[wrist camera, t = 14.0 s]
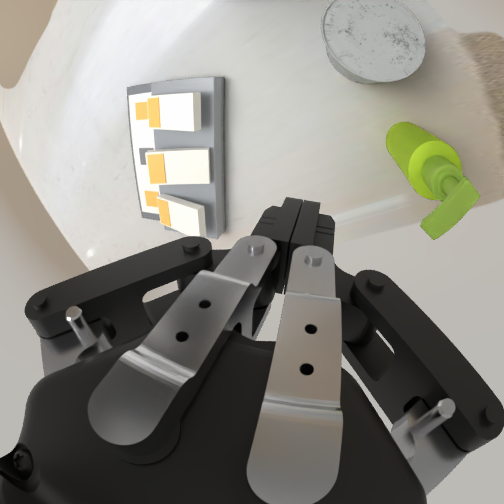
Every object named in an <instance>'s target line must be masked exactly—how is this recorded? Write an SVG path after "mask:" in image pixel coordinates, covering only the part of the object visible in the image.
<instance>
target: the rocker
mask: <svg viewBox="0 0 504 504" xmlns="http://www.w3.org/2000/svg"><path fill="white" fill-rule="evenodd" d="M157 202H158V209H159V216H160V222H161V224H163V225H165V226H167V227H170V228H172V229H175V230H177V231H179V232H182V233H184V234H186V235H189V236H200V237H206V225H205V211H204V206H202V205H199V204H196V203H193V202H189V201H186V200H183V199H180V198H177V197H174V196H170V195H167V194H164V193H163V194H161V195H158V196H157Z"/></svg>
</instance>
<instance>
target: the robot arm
mask: <svg viewBox="0 0 504 504" xmlns="http://www.w3.org/2000/svg"><path fill="white" fill-rule="evenodd" d="M319 209H320V203H319V202H313V201H307V200H304V202H303V200H301V199H295V198H289V197H286V199H285V201H284V203H283V205H282V207H277V206H272V207H270V208H268V209H266V210H265V211H264V213H263V215H262V217H261V218H260V220H259V222H258V223H257V225H256V227H255V228H254V230H253V232H252V234H251V235H250V236H246V237H243V238H241V239H240V240H238V241H237V242H236V244H235V245H234V246H233V247H232V249H227V250H212V245H211V242H210V241H209V240H208V239H206V238H204V237H200V236H188V237H184V238H181V239H178V240H175V241H172V242H169V243H166V244H163V245H161V246H158V247H155V248H152V249H149V250H146V251H143V252H141V253H138V254H135V255H132V256H129V257H127V258H124V259H121V260H118V261H116V262H113V263H110V264H108V265H105V266H102V267H100V268H97V269H94V270H92V271H89V272H86V273H84V274H81V275H78V276H76V277H73V278H71V279H68V280H66V281H63V282H61V283H58V284H55V285H53V286H51V287H48V288H46V289H43V290H41V291H39V292H37V293H35V294H34V295H33V296H32V297H31V298H30V299H29V300H28V302H27V304H26V306H25V315H26V317H27V318H28V320H29V321H30V323H31V324H32V326H33V327H34V329H35V330H36V332H37V335H38V336H39V337H40V342H41V351H42V361H43V369H44V375H45V377H44V378H42V379H41V380H40V381H39V382H38V383H37V384H36V385H35V386H34V388H33V389H32V391H31V392H30V395H29V397H28V400H27V403H26V409H25V417H24V422H23V427H22V431H21V434H20V437H19V441H18V443H17V445H16V446H15V448H14V449H13V450H12V451H11V452H10V453H9V454H7V455H5V456H3V457H2V458H0V504H427V500H426V495H427V494H428V493H429V492H431V491H432V490H433V489H434V488H435V487H436V486H437V485H438V484H439V483H440V482H441V481H442V480H443V479H444V478H445V477H446V476H447V475H448V474H449V473H450V472H451V471H452V470H453V469H454V468H455V467H456V466H457V465H458V464H459V463H460V462H461V460H462V459H463V458H464V457H465V456H466V455H467V454H469V453H470V452H472V451H474V450H475V449H477V448H479V447H481V446H482V445H484V444H486V443H488V442H489V441H491V440H493V439H494V438H496V437H497V436H498V435H499V434H500V433H501V431H502V429H503V427H504V409H503V406H502V404H501V402H500V401H499V399H498V398H497V397H496V395H495V394H494V393H493V391H492V390H491V389H490V388H489V386H488V385H487V384H486V383H485V381H484V380H483V379H482V378H481V376H480V375H479V374H478V373H477V371H476V370H475V369H474V368H473V367H472V366H471V364H470V363H469V362H468V361H467V359H466V358H465V357H464V356H463V355H462V354H461V352H460V351H459V350H458V349H457V348H456V347H455V346H454V344H453V343H452V342H451V341H450V340H449V339H448V338H447V337H446V335H445V334H444V333H443V332H442V331H441V330H440V329H439V328H438V327H437V326H436V325H435V324H434V323H433V321H432V320H431V319H430V318H429V317H428V316H427V315H426V314H425V313H424V312H423V311H422V310H421V309H420V308H419V307H418V306H417V305H416V304H415V303H414V302H413V301H412V300H411V299H410V298H409V297H408V296H407V295H406V294H405V293H404V292H403V291H402V290H401V289H400V288H399V287H398V286H397V285H396V284H395V283H394V282H393V281H392V280H391V279H390V278H389V277H388V276H386V275H385V274H383V273H381V272H378V271H375V270H363V271H360V272H359V273H357V275H356V276H352V275H350V274H347V273H346V272H344V271H342V270H341V269H340V268H338V267H337V266H336V264H335V263H334V257H333V246H334V232H335V222H334V220H333V219H332V217H331V216H329V215H323V214H319ZM175 280H177V283H178V288H179V290H177V291H174V292H172V293H169V294H167V295H164V296H162V297H159V298H157V299H154V300H152V301H149V302H146V303H143V302H142V299H143V296H144V295H145V294H146V293H147V292H148V291H150V290H152V289H155V288H157V287H160V286H163V285H165V284H168V283H170V282H173V281H175ZM284 285H285V288H284ZM283 289H284V294H285V299H284V304H283V309H282V314H281V320H280V325H279V330H278V335H277V341H255V340H256V338H257V336H258V334H259V332H260V329H261V328H262V325H263V323H264V321H265V319H266V317H267V315H268V313H269V310H270V308H271V301H272V300H273V297H274V295H275V293H280V294H282V292H283ZM376 330H378V331H379V332H380V333H381V334H382V335H383V337H384V338H385V339H386V340H387V341H388V343H389V344H390V345H391V346H392V348H393V350H394V353H393V352H392V351H391V350H390V348H389V347H388V346H387V345H386V344H385V342H384V341H383V340H382V339H381V337H380V336H379V335H378V334H377V333H376ZM341 354H343V355H344V356H345V358H346V359H347V361H348V362H349V363H350V365H351V366H352V367H353V369H354V370H355V372H356V373H357V375H358V376H359V377H360V379H361V380H362V382H363V383H364V384H365V386H366V387H367V389H368V390H369V391H370V392H371V394H372V396H373V397H374V398H375V400H376V401H377V403H378V404H379V406H380V407H381V408H382V410H383V411H384V413H385V414H386V416H387V417H388V418H389V420H390V421H391V423H392V424H393V427H392V429H391V434H390V432H389V431H388V429H387V428H386V426H385V425H384V423H383V421H382V420H381V418H380V417H379V415H378V413H377V412H376V410H375V409H374V407H373V406H372V404H371V402H370V401H369V399H368V398H367V396H366V395H365V393H364V392H363V390H362V389H361V387H360V386H359V384H358V383H357V381H356V380H355V379H354V378H353V377H352V375H350V374H349V373H348V372H347V371H346V370H345V369H343V368H342V367H341V357H342V355H341ZM394 354H395V355H394Z"/></svg>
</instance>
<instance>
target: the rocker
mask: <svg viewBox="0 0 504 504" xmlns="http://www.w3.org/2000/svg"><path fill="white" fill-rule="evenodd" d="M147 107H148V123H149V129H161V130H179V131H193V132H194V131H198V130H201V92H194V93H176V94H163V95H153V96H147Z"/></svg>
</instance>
